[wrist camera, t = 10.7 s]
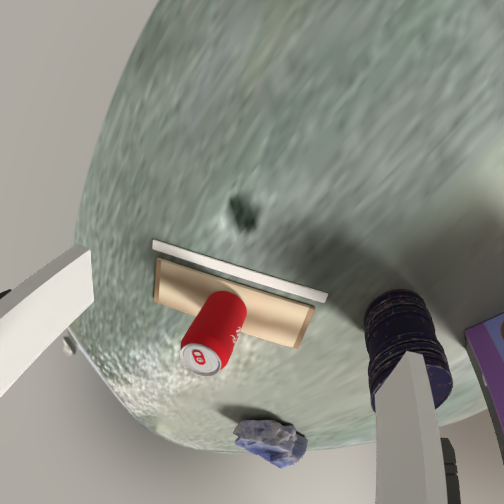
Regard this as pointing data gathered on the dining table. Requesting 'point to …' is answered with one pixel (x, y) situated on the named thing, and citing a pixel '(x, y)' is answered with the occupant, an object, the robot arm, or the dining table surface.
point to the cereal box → (490, 367)
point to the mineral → (271, 441)
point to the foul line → (240, 271)
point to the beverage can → (213, 333)
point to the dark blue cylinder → (404, 341)
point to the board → (257, 302)
